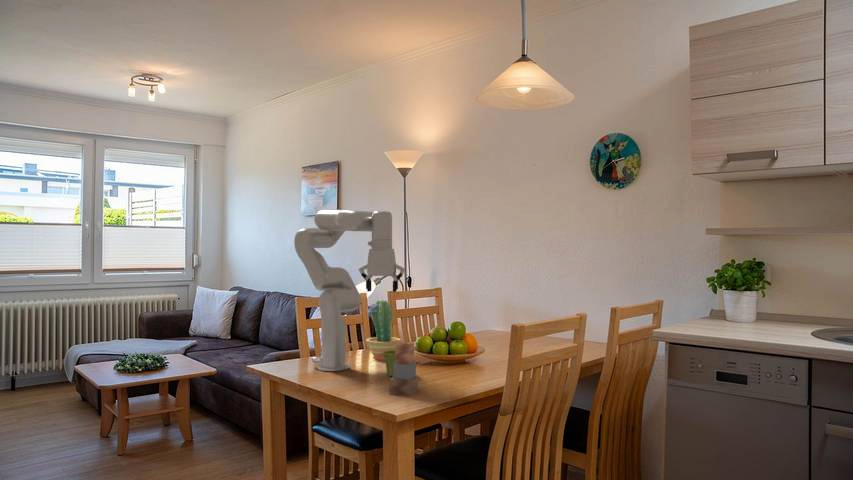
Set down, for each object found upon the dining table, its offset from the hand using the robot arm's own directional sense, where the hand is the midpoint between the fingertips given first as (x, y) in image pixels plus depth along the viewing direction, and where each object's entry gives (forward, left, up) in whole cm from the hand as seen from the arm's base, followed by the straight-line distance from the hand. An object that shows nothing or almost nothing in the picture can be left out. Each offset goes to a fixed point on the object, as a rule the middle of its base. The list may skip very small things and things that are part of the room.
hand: (381, 291), depth 215 cm
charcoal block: (+12, -16, -28) cm, 34 cm away
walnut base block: (+12, -16, -32) cm, 38 cm away
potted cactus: (-10, +40, -32) cm, 52 cm away
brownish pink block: (+12, -16, -22) cm, 30 cm away
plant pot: (+3, +8, -32) cm, 34 cm away
